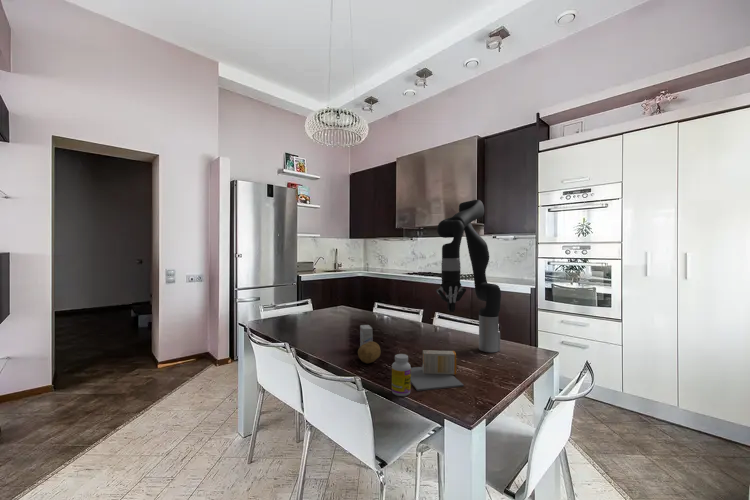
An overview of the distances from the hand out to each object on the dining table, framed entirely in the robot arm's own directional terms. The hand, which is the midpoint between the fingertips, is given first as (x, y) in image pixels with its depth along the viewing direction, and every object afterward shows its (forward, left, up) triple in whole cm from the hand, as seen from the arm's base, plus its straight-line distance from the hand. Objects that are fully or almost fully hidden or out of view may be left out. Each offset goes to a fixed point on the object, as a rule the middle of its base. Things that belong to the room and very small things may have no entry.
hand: (451, 311), depth 131 cm
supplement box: (-1, +2, -20) cm, 20 cm away
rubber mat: (+10, +3, -25) cm, 27 cm away
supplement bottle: (+25, +13, -25) cm, 38 cm away
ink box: (+28, -35, -25) cm, 51 cm away
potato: (+30, -19, -25) cm, 44 cm away
